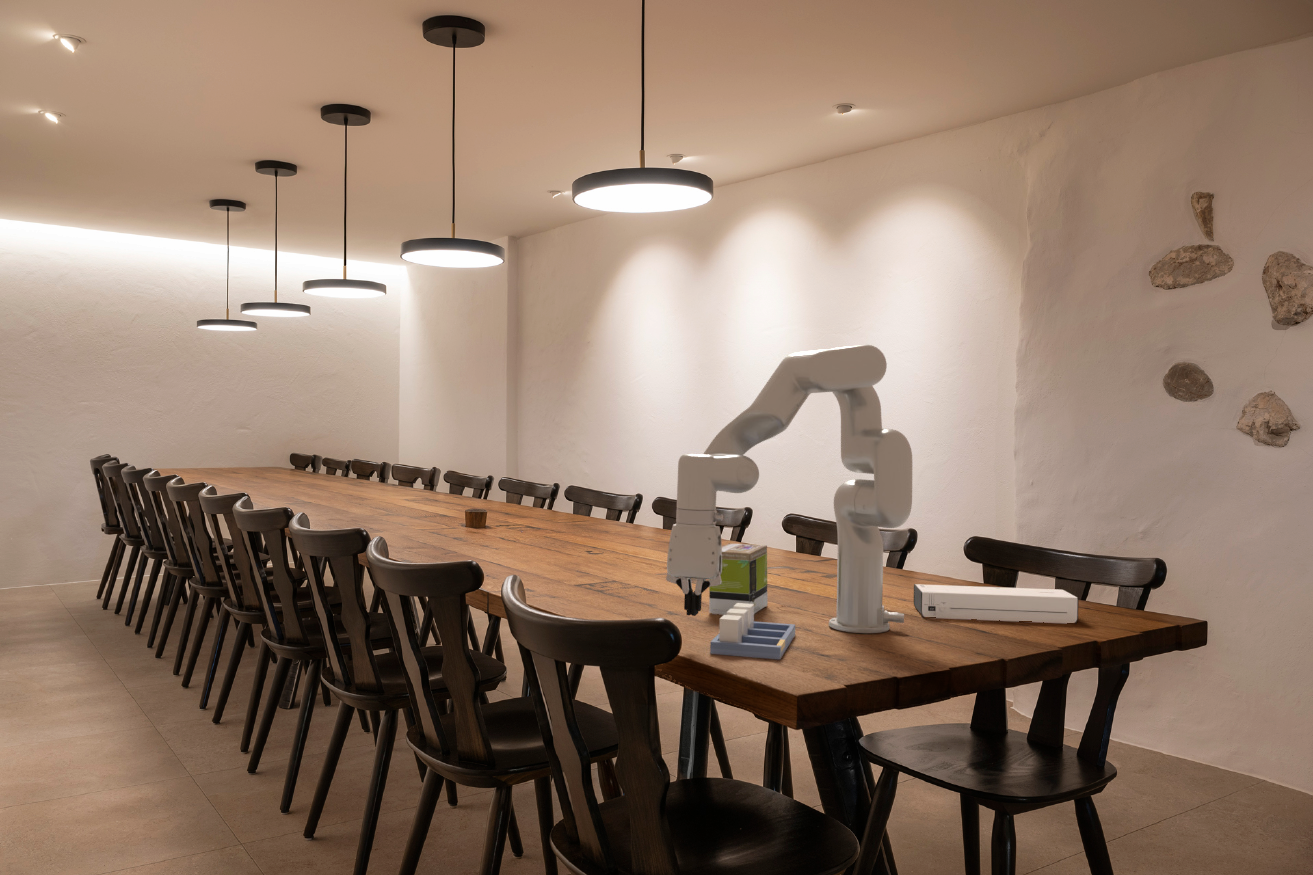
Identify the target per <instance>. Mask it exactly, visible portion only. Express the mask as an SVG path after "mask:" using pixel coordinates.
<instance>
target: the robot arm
mask: <svg viewBox="0 0 1313 875" xmlns="http://www.w3.org/2000/svg"><path fill="white" fill-rule="evenodd" d="M887 364H888V363H887V359H886V357H885V354H884V353H883V352H882V350H880V349H879V348H878V347H876V346H874V345H870V344H861V345H852V346H842V347H841V346H840V347H834V348H829V349H817V350H816V349H815V350H814V349H813V350H807V351H799V352H798V351H797V352H793V353H790V354H789V355H787V356H786V357H784V358H783V359H782V360H781V362H780V363H779V365H778V366H777V368H776V369H775V370H774V372H773V373H772V375H771V376H770V377H769V379H768V380H767V382H766V383H765V384H764V387H763V388H762V389H761V391H760V392H759V393H758V395H757V396H756V398H755V399H754V401H753V402H752V403H751V405H749V407H747V408H746V409H745V410H743V411H742V412H740V414H738V415H737V416H736V417H735V418H734V419H732V420H731V421H730V422H729V423H727V425H725V426H724V427H723V428H722V429H721V430H720V431H719V432H718V433H717V434H716V436H715V437H714V438H713V439H712V440H711V442H710V444H709V445H708V446H707V448H706V449H705V451H704V453H699V454H698V453H687V454H683V455H681V456H680V457H679V459H678V464H677V487H676V489H677V490H676V492H677V493H676V511H675V513H676V514H675V515H676V519H675V521H676V523H675V524H674V523H673V524H672V528H671V532H670V536H669V543H668V549H667V558H666V559H667V560H666V571H667V572H666V573H667V574H666V576H665V580H666V582H670V583H671V584H674V585H677V586H678V587H679V589H680V590H681V591H682V593H683V594H684V602H683V604H684V605H683V606H684V607H683V609H684V610H685V611H686V616H693V617H695V616H697V615H698V614H699V612H701V610H702V600H703V599H702V594H703V593H704V592H705V591H706V590H707V589H708V588H709V587H712V586H717V585H720V584H721V583H722V581H721V576H720V575H721V573H722V546H723V544H722V534H721V533H722V532H721V528H720V526H719V525H717V526H716V524H717V522H723V520H724V514H722V513H719V512H718V510H717V493H718V492H725V493H730V494H731V493H732V494H742V493H747V492H748V491H750V490H752V489H753V488H754V487H755V486H756V484H757V483H758V482H759V480H760V479H759V478H760V470H759V467H758V465H757V463H756V462H755V461H754V460H753V459H752V458H750V457H749V456H746V455H745V454H746V453H747V452H749V451H750V450H751V449H752V448H754V447H755V446H757V445H758V444H761V443H763V442H765V441H767V440H769V439H772V438H773V437H776V436H778V435H780V434H781V433H783V432H784V431H786V430H787V429H788V428H789V426H790V424H791V423H792V421H793V420H794V418H795V417H796V415H797V414H798V412H799V411H800V409H801V407H802V406H803V405H804V403H805V402H806V400H807V399H808V398H809V396H810V395H811V394H817V393H818V394H819V393H831V392H832V394H833V395H834V397H835V398H836V401H837V402H838V406H839V410H840V412H839V413H840V459H841V462H842V465H843V467H845V469H847V470H848V471H850V472H853V473H859V474H867V475H868V474H869V475H873V479H862V478H861V479H860V478H859V479H856V478H855V479H851V480H850V479H849V480H847V481H844V482H843V483H841V484H840V485H839V486H838V488H837V489H836V491H835V493H834V496H833V509H834V510H833V511H834V516H835V521H836V530H837V532H836V533H837V560H836V561H837V564H836V565H837V566H836V568H837V570H836V571H837V572H836V575H837V576H836V578H837V579H836V617H835V616H834V617H832V618H830V619H829V621H828V626H829V627H830V628H832V629H835V630H837V631H841V632H847V633H854V634H855V633H856V634H879V633H885V632H889V630H890V623H889V622H892V623H896V624H897V623H898V624H899V623H900V624H904V623H905V614H904V613H900V612H897V611H894V612H893V611H891V612H890V611H888V610H885V605H883V583H884V582H883V581H884V542H883V541H884V540H883V537H882V534H881V532H880V528H882V529H883V528H885V529H896V528H899V527H901V526H902V525H903V526H904V524H905V523H906V522H908V518H910V517H909V516H910V515H911V512H912V508H913V507H912V506H913V505H912V504H913V451H912V448H911V444H910V442H909V440H908V438H907V437H906V436H905V435H904V434H903V433H902V432H900V431H898V430H896V429H893V428H883V425H882V424H883V423H882V422H883V420H882V408H881V407H882V406H881V401H880V398H879V396H878V393H877V391H876V390H875V388H874V386H875V385H876V384H878V383H880V382H881V381H882V379H883V378H884V377H885V375H886V372H887ZM692 579H695V580H696V581H695V588H694V590H693V585H692ZM709 579H711V580H709Z"/></svg>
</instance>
